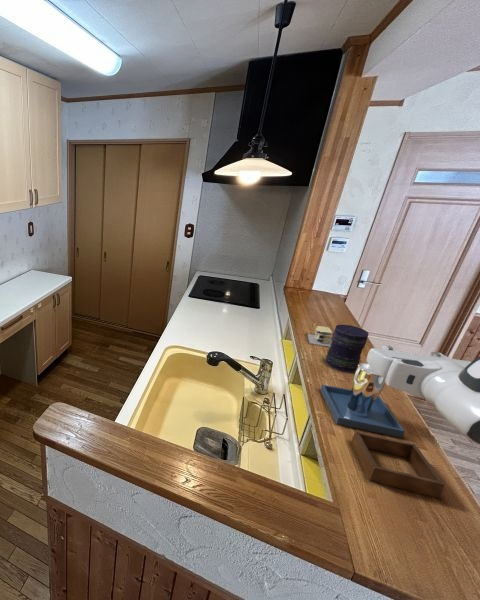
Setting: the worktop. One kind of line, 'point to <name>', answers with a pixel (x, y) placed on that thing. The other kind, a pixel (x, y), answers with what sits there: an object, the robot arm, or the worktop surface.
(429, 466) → the wooden square box
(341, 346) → the navy layered cylinder
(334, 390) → the tray
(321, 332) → the stacked layers on plate
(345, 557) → the worktop surface
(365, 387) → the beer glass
